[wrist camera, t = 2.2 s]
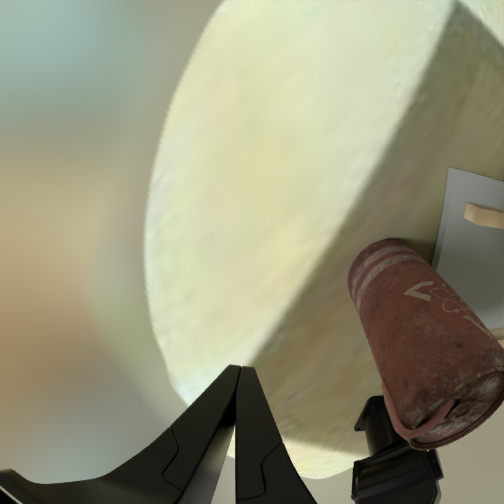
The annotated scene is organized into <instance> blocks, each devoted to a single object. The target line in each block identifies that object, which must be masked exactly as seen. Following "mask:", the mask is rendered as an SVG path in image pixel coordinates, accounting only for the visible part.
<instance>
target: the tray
mask: <svg viewBox="0 0 504 504" xmlns="http://www.w3.org/2000/svg"><path fill="white" fill-rule="evenodd" d="M431 267H432V268H433V269H434V270H435V271H436V272H437V273H438V274H439V275H440V276H441V277H442V278H443V279H444V280H445V281H446V282H447V283H448V284H449V285H450V286H451V287H452V289H453V290H454V291H455V292H456V293H457V294H458V295H459V296H460V297H461V298H462V299H463V300H464V302H465V303H466V304H467V305H468V306H469V307H470V308H471V309H472V311H473V312H474V313H475V314H476V315H477V316H478V318H479V319H480V320H481V321H482V322H483V323H484V325H485V326H486V327H487V328H488V330H489V331H490V332H491V333H492V334H493V336H494V337H495V338H496V340H497V341H498V342H499V343H500V345H501V346H502V347H503V348H504V182H502V181H499V180H496V179H492V178H489V177H485V176H482V175H478V174H474V173H471V172H467V171H463V170H459V169H455V168H450V167H448V177H447V185H446V192H445V199H444V206H443V212H442V217H441V223H440V228H439V233H438V238H437V242H436V247H435V251H434V255H433V259H432V263H431Z"/></svg>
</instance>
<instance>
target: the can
mask: <svg viewBox="0 0 504 504" xmlns="http://www.w3.org/2000/svg"><path fill="white" fill-rule="evenodd" d="M348 288H349V291H350V295H351V298H352V300H353V303H354V305H355V308H356V310H357V313H358V315H359V318H360V321H361V323H362V326H363V329H364V331H365V334H366V337H367V339H368V342H369V345H370V348H371V350H372V353H373V356H374V359H375V362H376V365H377V368H378V371H379V374H380V377H381V383H382V389H383V394H384V401H385V405H386V408H387V410H388V413H389V416H390V418H391V421H392V424H393V427H394V429H395V431H396V432H397V433H398V434H399V435H400V436H402V437H403V438H404V439H405V440H407V441H408V443H409V445H410V446H411V447H412V448H413V449H418V450H429V449H435V448H438V447H441V446H444V445H447V444H450V443H452V442H454V441H456V440H458V439H460V438H462V437H464V436H465V435H467V434H468V433H470V432H472V431H473V430H474V429H476V428H477V427H478V426H480V425H481V424H482V423H483V422H485V421H486V420H487V419H488V418H489V417H490V416H491V415H492V414H493V413H494V412H495V411H496V410H497V409H498V408H499V406H500V405H501V404H502V402H503V401H504V349H503V347H502V346H501V345H500V343H499V342H498V341H497V340H496V338H495V337H494V336H493V334H492V333H491V332H490V331H489V330H488V328H487V327H486V326H485V325H484V323H483V322H482V321H481V320H480V319H479V318H478V316H477V315H476V314H475V313H474V312H473V311H472V309H471V308H470V307H469V306H468V305H467V304H466V303H465V302H464V300H463V299H462V298H461V297H460V296H459V295H458V294H457V293H456V292H455V291H454V290H453V289H452V287H451V286H450V285H449V284H448V283H447V282H446V281H445V280H444V279H443V278H442V277H441V276H440V275H439V274H438V273H437V272H436V271H435V270H434V269H433V268H432V267H431V266H430V265H429V264H428V263H427V262H426V261H425V260H424V259H423V258H422V257H421V256H420V255H419V254H418V253H417V252H416V251H415V250H414V249H412V248H411V247H410V246H409V245H408V244H406V243H405V242H402V241H399V240H396V239H389V240H381V241H379V242H376V243H373V244H371V245H370V246H368V247H367V248H366V249H364V250H363V251H362V252H361V253H360V254H359V255H358V257H357V258H356V259H355V260H354V262H353V264H352V266H351V269H350V271H349V275H348Z"/></svg>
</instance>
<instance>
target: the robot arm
mask: <svg viewBox="0 0 504 504" xmlns="http://www.w3.org/2000/svg"><path fill="white" fill-rule="evenodd" d="M234 427H235V485H236V486H235V490H236V492H235V493H236V504H317V502H316V501H315V499H314V498H313V497H312V495H311V493H310V492H309V490H308V489H307V487H306V485H305V484H304V482H303V481H302V480H301V478H300V476H299V474H298V472H297V471H296V469H295V467H294V465H293V463H292V461H291V459H290V457H289V455H288V453H287V450H286V448H285V445H284V443H283V441H282V438H281V436H280V433H279V431H278V428H277V426H276V423H275V421H274V418H273V415H272V413H271V410H270V408H269V405H268V402H267V400H266V397H265V395H264V392H263V389H262V387H261V384H260V381H259V379H258V376H257V373H256V370H255V368H254V367H249V366H242V368H241V366H239V365H228V366H227V367H226V368H225V369H224V371H223V372H222V373H221V374H220V375H219V376H218V377H217V378H216V379H215V380H214V381H213V382H212V383H211V385H210V386H209V387H208V388H207V389H206V390H205V391H204V392H203V393H202V394H201V395H200V396H199V397H198V398H197V399H196V400H195V401H194V402H193V403H192V404H191V405H190V406H189V407H188V408H187V409H186V410H185V412H183V413H182V415H181V416H180V417H179V418H178V419H177V420H176V421H175V422H174V423H173V424H172V425H171V426H170V427H169V428H167V429H166V430H165V431H164V432H163V433H162V434H161V435H160V436H159V437H158V438H157V439H156V440H155V441H153V442H152V443H151V444H150V445H149V446H147V447H146V448H145V449H143V450H142V451H141V452H139V453H138V454H136V455H135V456H134V457H132V458H131V459H129V460H128V461H126V462H125V463H123V464H122V465H120V466H119V467H117V468H116V469H115V470H113V471H112V472H110V473H108V474H106V475H104V476H101V477H98V478H94V479H89V480H82V481H74V482H64V483H53V484H39V483H34V482H31V481H29V480H27V479H25V478H23V477H22V476H21V475H20V474H18V473H17V472H16V471H14V470H12V469H4V470H0V486H1V487H2V488H4V489H5V490H6V491H7V492H8V493H10V494H11V495H12V496H13V497H15V498H16V499H17V500H18V501H20V502H21V503H22V504H211V501H212V498H213V495H214V492H215V489H216V486H217V483H218V480H219V476H220V473H221V470H222V467H223V464H224V461H225V457H226V454H227V451H228V448H229V444H230V441H231V438H232V434H233V431H234ZM354 430H355V431H365V433H366V438H367V444H368V449H369V454H370V457H368V458H365V459H362V460H357V461H354V468H353V478H352V495H351V498H352V500H354V501H355V504H439V502H440V499H441V491H440V487H439V483H438V480H440V479H442V478H444V476H443V471H442V468H441V463H440V459H439V456H438V453H437V450H436V448H435V449H429V451H428V452H427V450H418V449H413V448H412V447H411V446H410V445H409V443H408V441H407V440H405V439H404V438H403V437H402V436H400V435H399V434H398V433H397V432H396V431H395V429H394V427H393V424H392V421H391V418H390V416H389V413H388V410H387V408H386V405H385V401H384V397H374V398H370V399H368V400H367V402H366V405H365V407H364V409H363V411H362V413H361V415H360V417H359V419H358V421H357V423H356V425H355V427H354ZM0 504H18V503H17V502H16V501H15V500H13V499H12V498H11V497H10V496H9V495H7V494H6V493H5V492H4V491H3V490H1V489H0Z"/></svg>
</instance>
